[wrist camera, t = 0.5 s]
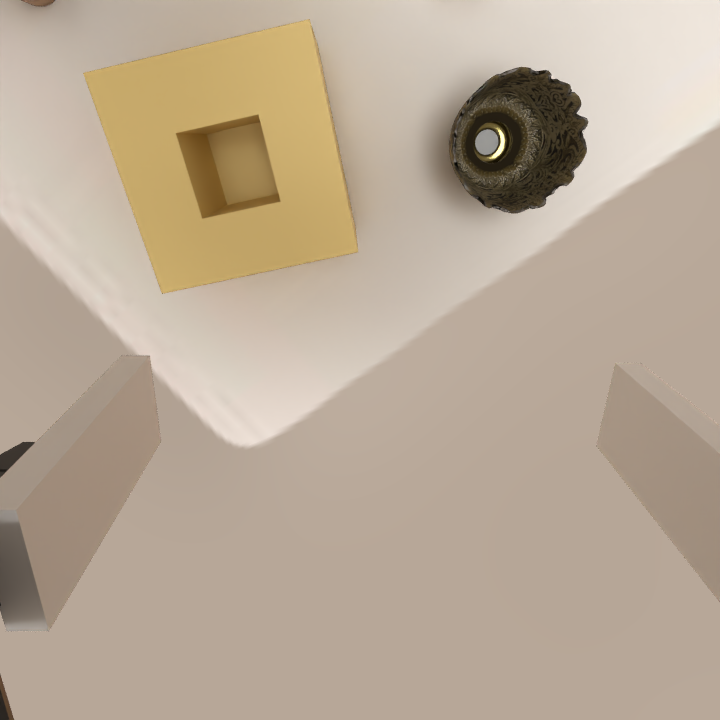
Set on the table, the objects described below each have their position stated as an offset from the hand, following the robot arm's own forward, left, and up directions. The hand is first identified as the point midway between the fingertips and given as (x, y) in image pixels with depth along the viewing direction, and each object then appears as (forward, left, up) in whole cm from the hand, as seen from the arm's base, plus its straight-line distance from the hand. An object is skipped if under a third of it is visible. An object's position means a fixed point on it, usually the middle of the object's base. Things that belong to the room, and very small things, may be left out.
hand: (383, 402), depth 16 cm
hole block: (-7, -6, -26) cm, 28 cm away
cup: (-5, +10, -26) cm, 28 cm away
